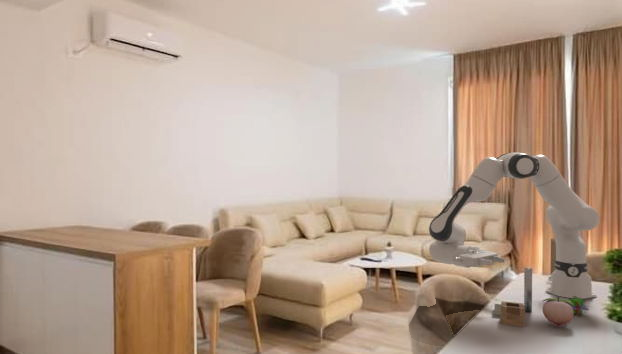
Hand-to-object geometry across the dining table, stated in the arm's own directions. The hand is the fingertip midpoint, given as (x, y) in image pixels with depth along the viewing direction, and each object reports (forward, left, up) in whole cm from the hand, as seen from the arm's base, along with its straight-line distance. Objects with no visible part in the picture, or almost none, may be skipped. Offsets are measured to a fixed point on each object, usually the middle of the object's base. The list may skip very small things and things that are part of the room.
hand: (498, 261), depth 170 cm
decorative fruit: (+19, +18, -17) cm, 32 cm away
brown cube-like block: (+21, +4, -17) cm, 27 cm away
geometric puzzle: (+2, +26, -17) cm, 31 cm away
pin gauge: (+5, +10, -17) cm, 20 cm away
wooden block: (-59, +31, -17) cm, 69 cm away
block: (+11, +2, -17) cm, 20 cm away
